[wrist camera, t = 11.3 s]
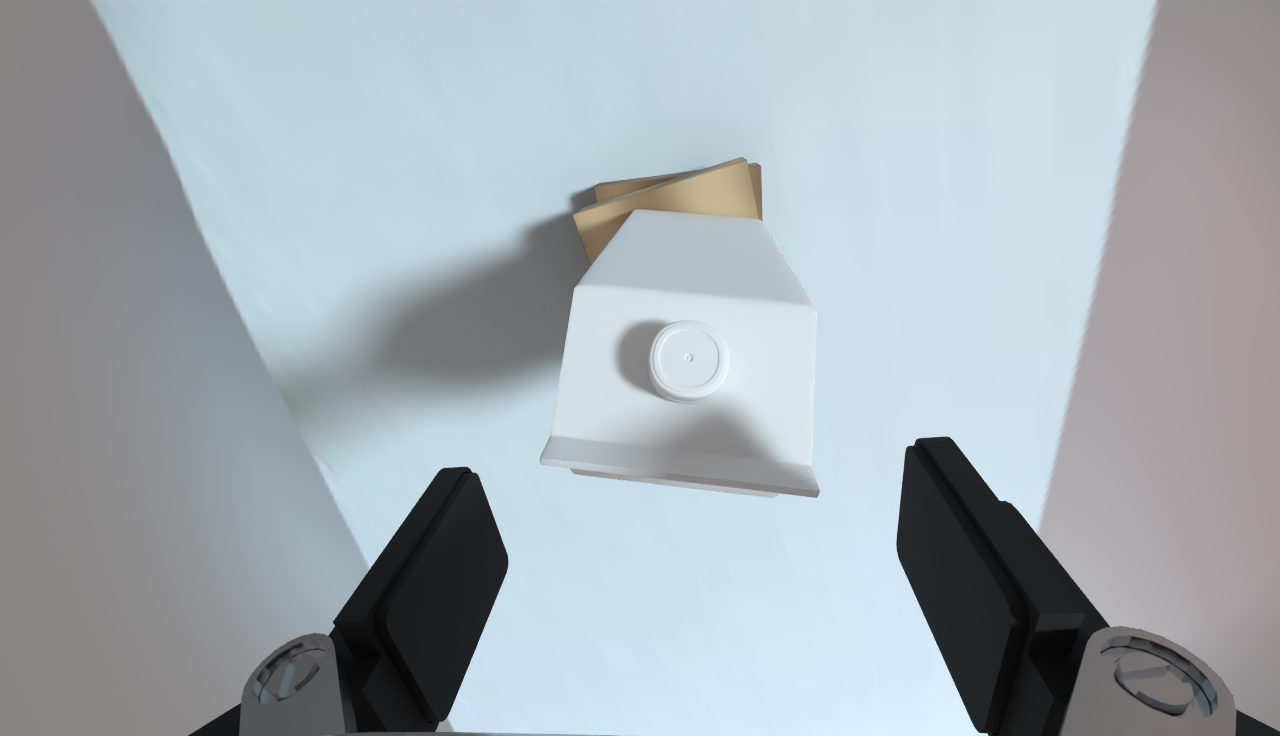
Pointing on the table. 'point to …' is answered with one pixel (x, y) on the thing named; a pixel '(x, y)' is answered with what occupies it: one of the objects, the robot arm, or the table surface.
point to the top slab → (671, 202)
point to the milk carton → (689, 361)
